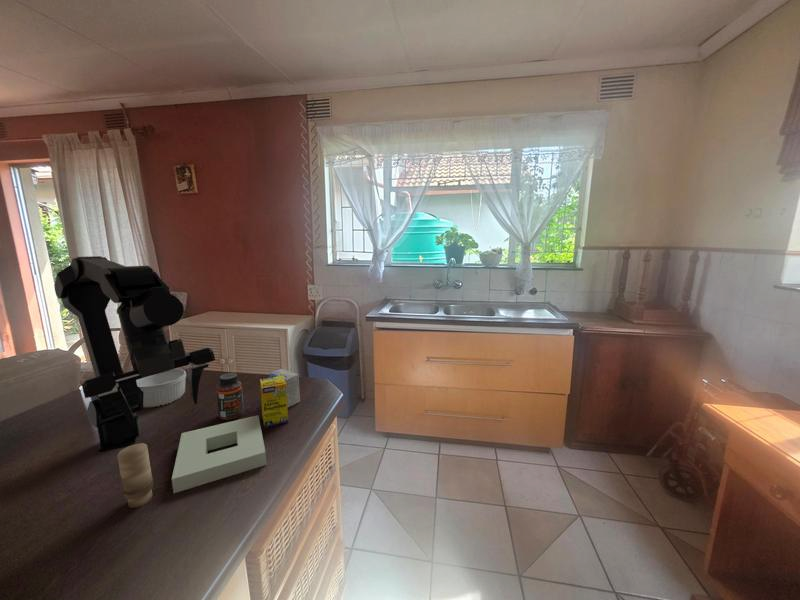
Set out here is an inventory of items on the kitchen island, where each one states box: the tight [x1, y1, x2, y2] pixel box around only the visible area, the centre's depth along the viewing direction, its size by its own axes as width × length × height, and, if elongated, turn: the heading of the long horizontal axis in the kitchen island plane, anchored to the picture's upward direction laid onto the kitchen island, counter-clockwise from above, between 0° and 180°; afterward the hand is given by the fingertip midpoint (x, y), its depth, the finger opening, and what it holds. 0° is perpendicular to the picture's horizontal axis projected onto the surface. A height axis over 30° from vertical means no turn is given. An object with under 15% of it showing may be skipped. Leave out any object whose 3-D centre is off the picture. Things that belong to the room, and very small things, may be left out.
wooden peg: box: [116, 442, 154, 509], centre depth 56 cm, size 4×4×10 cm
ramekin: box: [136, 368, 187, 408], centre depth 92 cm, size 13×13×7 cm
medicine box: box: [268, 368, 301, 408], centre depth 91 cm, size 8×4×9 cm, turn 58°
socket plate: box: [171, 414, 267, 494], centre depth 68 cm, size 16×16×3 cm
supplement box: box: [259, 376, 289, 429], centre depth 81 cm, size 6×6×11 cm
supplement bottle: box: [215, 372, 244, 421], centre depth 83 cm, size 6×6×11 cm
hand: (166, 414), depth 58 cm, fingers open, 9 cm apart
